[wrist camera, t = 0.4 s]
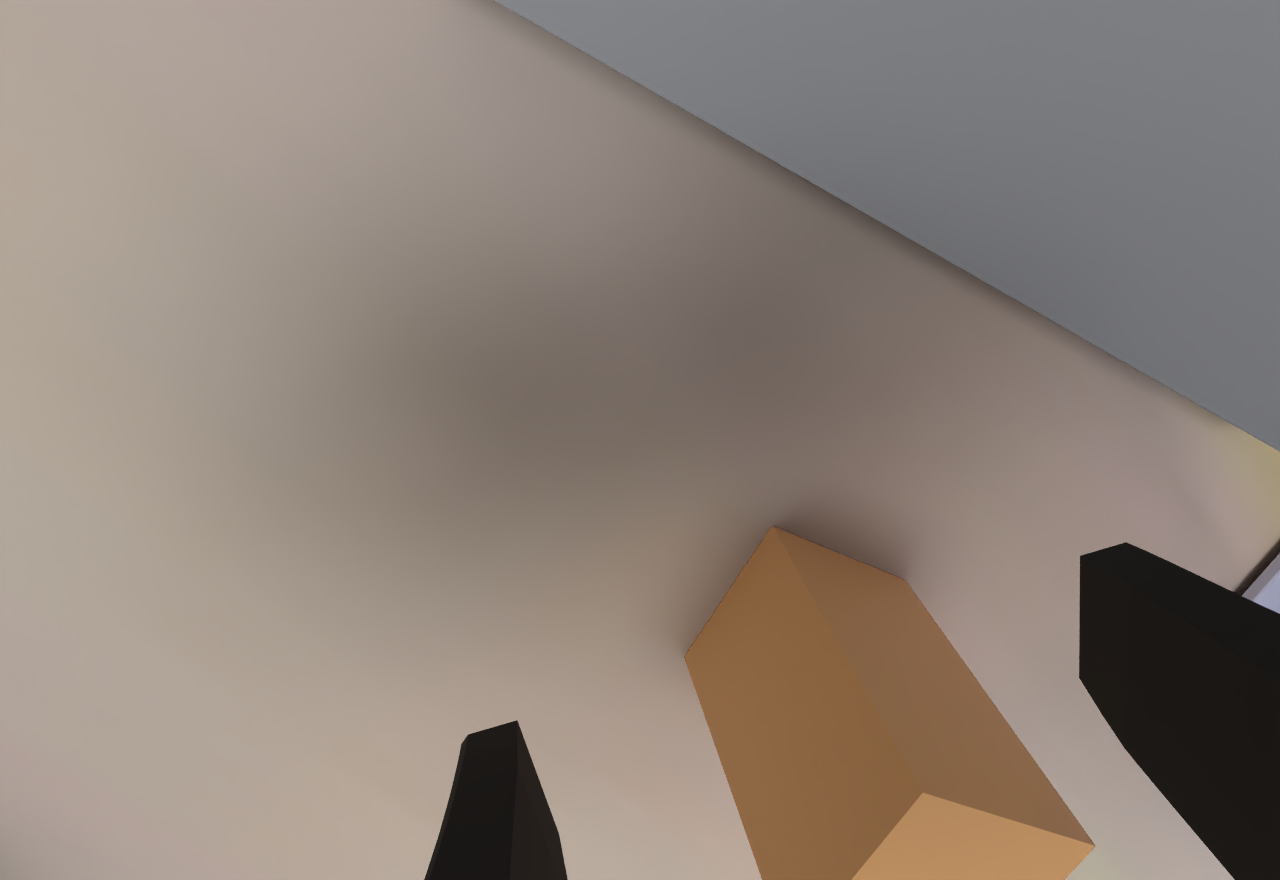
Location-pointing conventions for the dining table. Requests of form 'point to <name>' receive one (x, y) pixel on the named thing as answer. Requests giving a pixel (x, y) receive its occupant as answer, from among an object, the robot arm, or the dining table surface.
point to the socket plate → (1017, 150)
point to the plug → (866, 733)
